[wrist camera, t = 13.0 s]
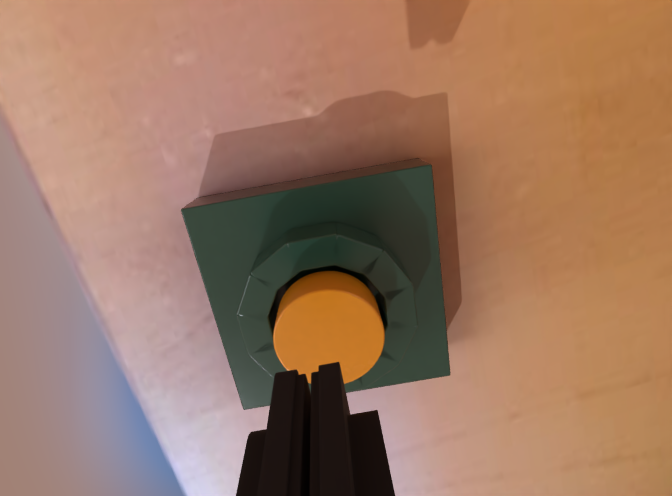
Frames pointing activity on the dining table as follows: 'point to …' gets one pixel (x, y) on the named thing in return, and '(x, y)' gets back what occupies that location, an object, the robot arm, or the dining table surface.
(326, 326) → the button
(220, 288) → the switch box
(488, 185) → the dining table surface
